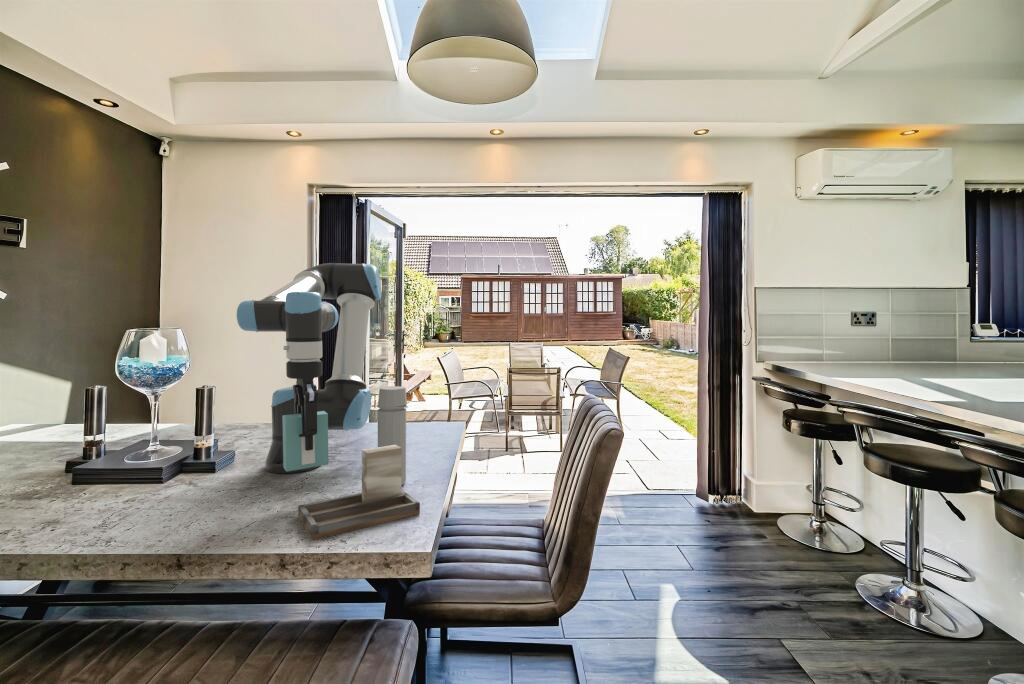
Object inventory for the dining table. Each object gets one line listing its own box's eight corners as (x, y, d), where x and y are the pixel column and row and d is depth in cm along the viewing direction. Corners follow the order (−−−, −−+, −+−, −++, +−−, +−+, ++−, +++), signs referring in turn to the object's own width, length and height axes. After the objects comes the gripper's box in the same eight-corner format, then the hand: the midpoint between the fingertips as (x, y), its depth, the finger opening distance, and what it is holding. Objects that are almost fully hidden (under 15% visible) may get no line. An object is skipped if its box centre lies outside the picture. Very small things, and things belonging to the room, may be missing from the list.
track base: (298, 517, 100) (297, 456, 100) (396, 496, 113) (396, 442, 113) (313, 540, 90) (312, 472, 89) (419, 513, 103) (419, 454, 102)
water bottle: (400, 490, 117) (400, 390, 116) (371, 487, 119) (371, 389, 118) (414, 478, 126) (415, 385, 125) (387, 476, 128) (387, 384, 127)
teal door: (283, 467, 107) (282, 415, 107) (324, 460, 113) (323, 410, 112) (286, 471, 104) (285, 418, 104) (328, 464, 110) (327, 413, 109)
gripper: (279, 357, 111) (281, 454, 113) (294, 364, 98) (296, 474, 100) (313, 356, 116) (314, 449, 117) (331, 362, 102) (332, 467, 104)
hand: (306, 460), depth 108 cm, fingers closed on teal door, 3 cm apart
